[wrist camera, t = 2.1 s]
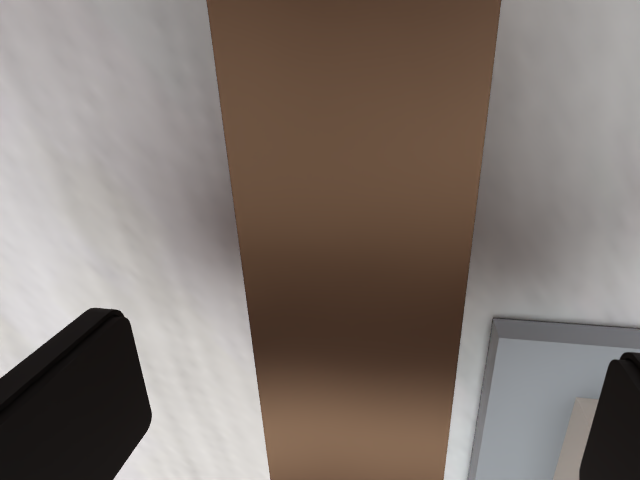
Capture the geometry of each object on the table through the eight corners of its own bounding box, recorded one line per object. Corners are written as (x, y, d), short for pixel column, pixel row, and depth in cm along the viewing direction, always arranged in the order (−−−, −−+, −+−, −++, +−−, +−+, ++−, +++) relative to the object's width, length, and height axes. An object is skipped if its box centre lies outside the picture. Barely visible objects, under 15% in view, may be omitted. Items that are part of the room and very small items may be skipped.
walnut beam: (285, 13, 11) (206, -1, 7) (464, 3, 10) (504, -21, 6) (309, 367, 16) (272, 491, 12) (430, 379, 16) (438, 516, 11)
